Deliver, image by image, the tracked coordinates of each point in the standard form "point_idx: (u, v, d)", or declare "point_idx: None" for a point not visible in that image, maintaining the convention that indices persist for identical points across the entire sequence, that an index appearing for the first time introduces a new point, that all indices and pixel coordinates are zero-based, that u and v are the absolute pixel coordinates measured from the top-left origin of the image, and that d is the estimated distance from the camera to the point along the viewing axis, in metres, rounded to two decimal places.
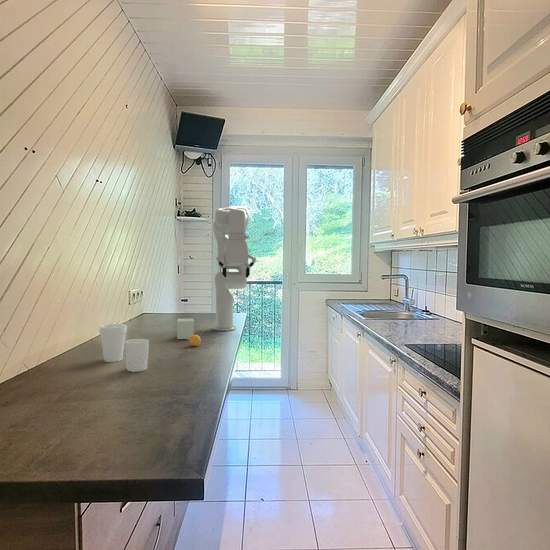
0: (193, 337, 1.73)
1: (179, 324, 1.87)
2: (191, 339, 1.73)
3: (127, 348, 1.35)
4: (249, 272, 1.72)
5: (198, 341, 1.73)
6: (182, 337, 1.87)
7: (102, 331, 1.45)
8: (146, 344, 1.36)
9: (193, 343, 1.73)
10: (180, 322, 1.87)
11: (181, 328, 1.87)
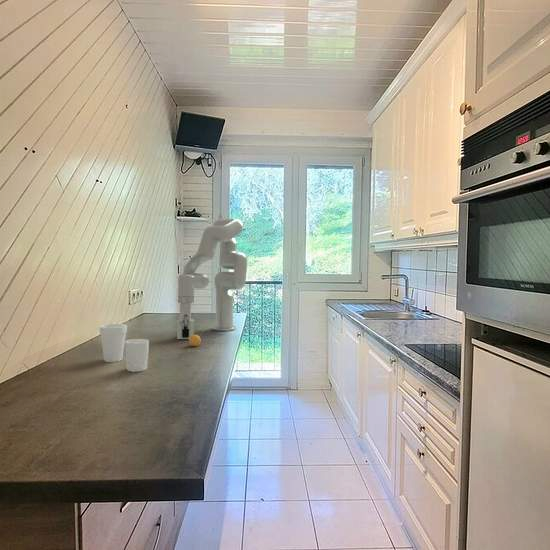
0: (193, 337, 1.73)
1: (179, 324, 1.87)
2: (191, 339, 1.73)
3: (127, 348, 1.35)
4: None
5: (198, 341, 1.73)
6: (182, 337, 1.87)
7: (102, 331, 1.45)
8: (146, 344, 1.36)
9: (193, 343, 1.73)
10: None
11: (181, 328, 1.87)
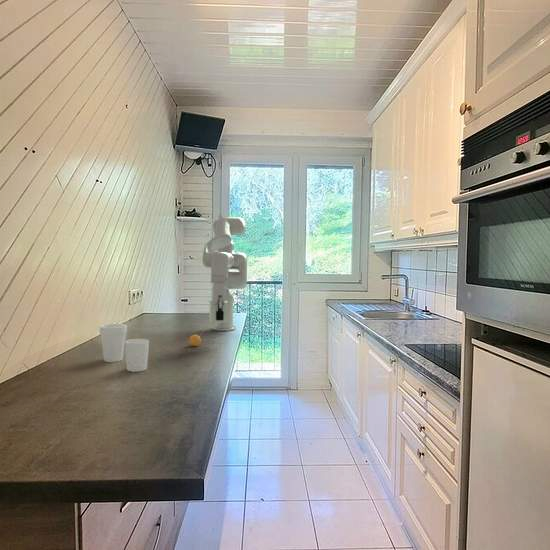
0: (193, 337, 1.73)
1: (213, 306, 1.72)
2: (191, 339, 1.73)
3: (127, 348, 1.35)
4: None
5: (198, 341, 1.73)
6: (216, 320, 1.72)
7: (102, 331, 1.45)
8: (146, 344, 1.36)
9: (193, 343, 1.73)
10: None
11: (215, 310, 1.72)
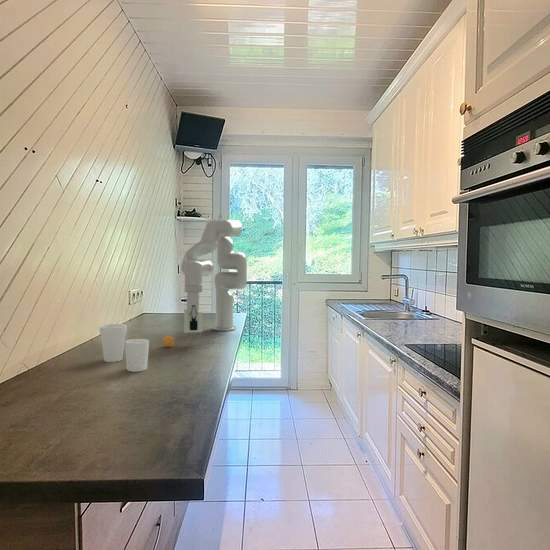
0: (172, 341, 1.71)
1: (186, 315, 1.70)
2: (171, 338, 1.71)
3: (127, 348, 1.35)
4: None
5: (167, 345, 1.70)
6: (190, 330, 1.71)
7: (102, 331, 1.45)
8: (146, 344, 1.36)
9: (167, 340, 1.70)
10: None
11: (188, 320, 1.71)
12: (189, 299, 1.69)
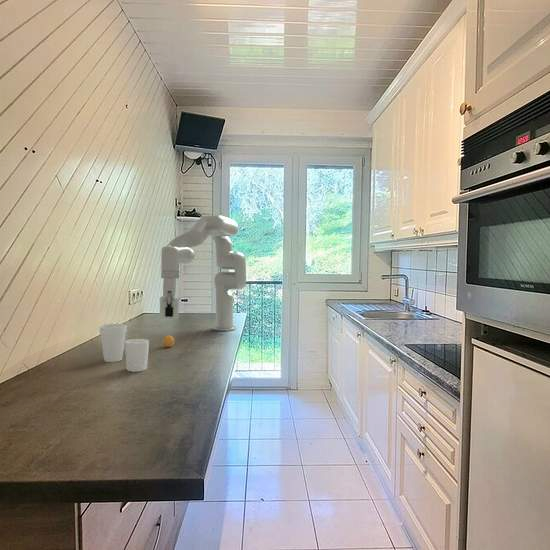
0: (172, 341, 1.71)
1: (162, 301, 1.67)
2: (171, 338, 1.71)
3: (127, 348, 1.35)
4: None
5: (167, 345, 1.70)
6: (165, 316, 1.67)
7: (102, 331, 1.45)
8: (146, 344, 1.36)
9: (167, 340, 1.70)
10: None
11: (164, 306, 1.67)
12: (165, 285, 1.66)
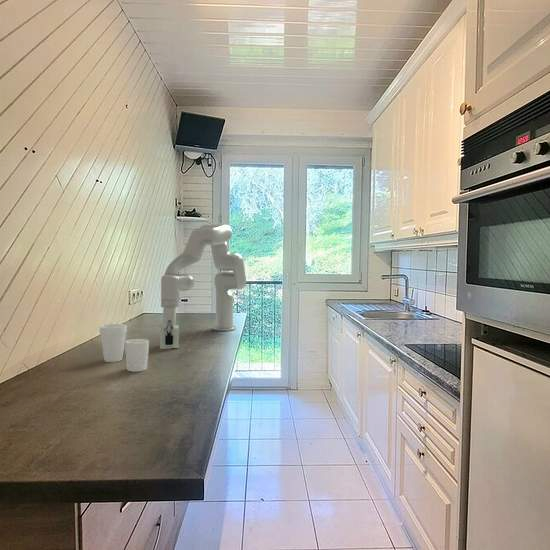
0: None
1: (162, 332, 1.68)
2: None
3: (127, 348, 1.35)
4: None
5: None
6: (165, 346, 1.68)
7: (102, 331, 1.45)
8: (146, 344, 1.36)
9: None
10: None
11: (164, 336, 1.68)
12: (165, 314, 1.67)
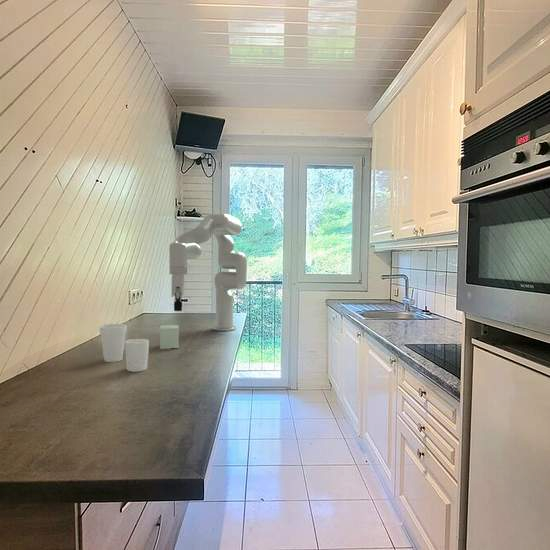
0: None
1: (162, 332, 1.68)
2: None
3: (127, 348, 1.35)
4: None
5: None
6: (165, 346, 1.68)
7: (102, 331, 1.45)
8: (146, 344, 1.36)
9: None
10: (163, 329, 1.68)
11: (164, 336, 1.68)
12: (173, 280, 1.69)
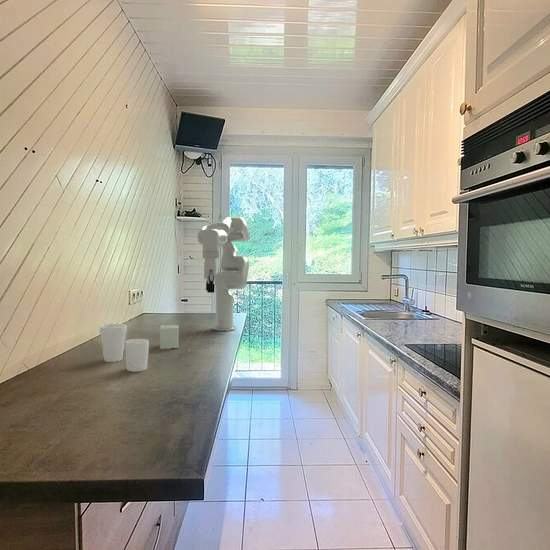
0: None
1: (162, 332, 1.68)
2: None
3: (127, 348, 1.35)
4: None
5: None
6: (165, 346, 1.68)
7: (102, 331, 1.45)
8: (146, 344, 1.36)
9: None
10: (163, 329, 1.68)
11: (164, 336, 1.68)
12: (207, 264, 1.81)
